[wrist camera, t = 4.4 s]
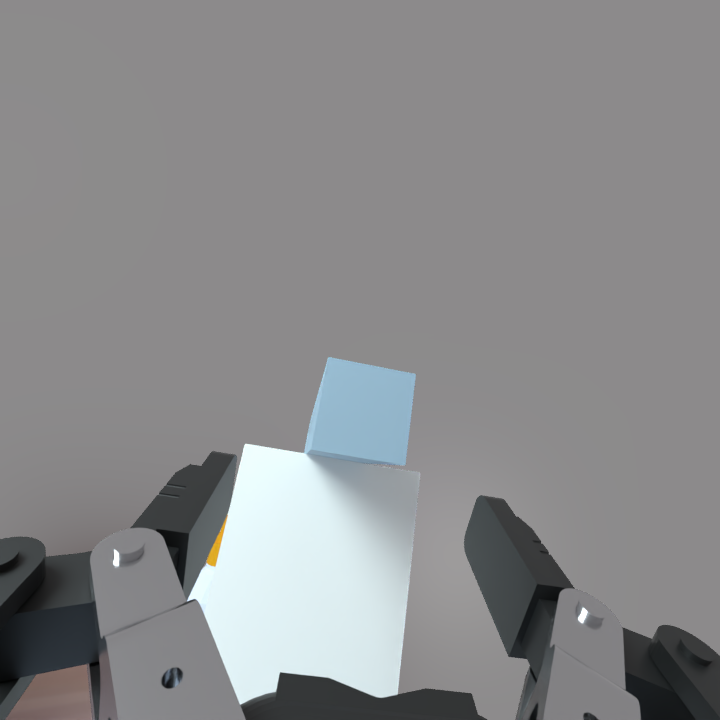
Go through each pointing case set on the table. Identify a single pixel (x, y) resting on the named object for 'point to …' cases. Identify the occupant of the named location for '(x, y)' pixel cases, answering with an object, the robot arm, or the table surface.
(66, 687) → the table surface
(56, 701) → the table surface
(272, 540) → the storage box
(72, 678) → the table surface
